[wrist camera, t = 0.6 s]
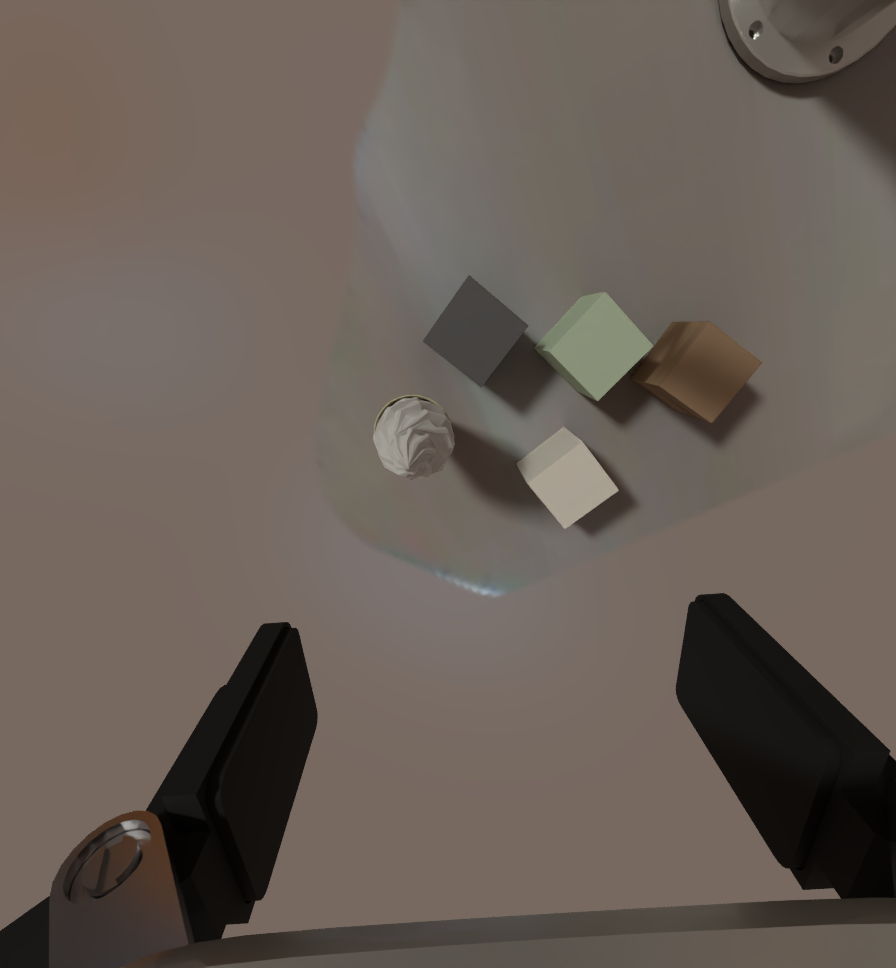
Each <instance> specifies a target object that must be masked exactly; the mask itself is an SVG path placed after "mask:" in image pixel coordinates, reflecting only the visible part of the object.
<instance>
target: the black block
mask: <svg viewBox="0 0 896 968" xmlns="http://www.w3.org/2000/svg"><path fill="white" fill-rule="evenodd" d="M527 327H528V325H527V324H526V323H525V322H524V321H522V320H521V319H520V318H519V317H518V316H517V315H515V314H514V313H513V312H512V311H511V310H509V309H508V308H507V307H506V306H505V305H504V304H502V303H501V302H500V301H499V300H498V299H497V298H495V297H494V296H493V295H492V294H491V293H489V292H488V291H487V290H486V289H485V288H484V287H482V286H481V285H480V284H479V283H478V282H477V281H475V280H474V279H473V278H472V277H471V276H468V277H467V279H466V280H465V282H464V283H463V284H462V286H461V287H460V289H459V290H458V292H457V293H456V294H455V296H454V297H453V299H452V300H451V302H450V303H449V304H448V306H447V307H446V309H445V310H444V312H443V313H442V314H441V316H440V317H439V319H438V320H437V322H436V323H435V324H434V326H433V327H432V329H431V330H430V332H429V333H428V334H427V336H426V337H425V339H424V340H423V342H424V343H426V344H427V345H428V346H429V347H431V348H432V349H433V350H435V351H436V352H437V353H438V354H440V355H441V356H442V357H444V358H445V359H446V360H447V361H449V362H450V363H451V364H452V365H454V366H455V367H456V368H458V369H459V370H460V371H461V372H463V373H464V374H465V375H467V376H468V377H469V378H470V379H472V380H473V381H474V382H476V383H477V384H478V385H479V386H481V387H482V386H483V384H484V383H485V382H486V380H487V379H488V378H489V377H490V375H491V374H492V373H493V371H494V370H495V369H496V367H497V366H498V365H499V364H500V362H501V361H502V360H503V358H504V357H505V356H506V354H507V353H508V352H509V350H510V349H511V348H512V347H513V345H514V344H515V343H516V341H517V340H518V339H519V337H520V336H521V335H522V334H523V332H524V331H525V330H526V328H527Z"/></svg>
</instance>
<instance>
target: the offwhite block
mask: <svg viewBox="0 0 896 968" xmlns="http://www.w3.org/2000/svg"><path fill="white" fill-rule="evenodd" d="M516 465H517V467H518V468H519V470H520V472H521V474H522V475H523V477H524V479H525V481H526V482H527V484H528V485H529V486H530V487H531V489H532V490H533V491H534V492H535V494H536V495H537V496H538V497H539V498H540V500H541V501H542V502H543V503H544V504H545V506H546V507H547V508H548V509H549V510H550V512H551V513H552V514H553V515H554V516H555V518H556V519H557V520H558V521H559V523H560V524H561V525H562V526H563V527H564V529H566V528H567V527H569V526H570V525H571V524H573V523H574V522H576V521H577V520H578V519H580V518H581V517H583V516H584V515H585V514H587V513H588V512H590V511H591V510H592V509H594V508H595V507H597V506H598V505H599V504H601V503H602V502H604V501H605V500H606V499H608V498H609V497H610V496H612V495H613V494H615V493H616V492H617V491H619V490H618V488H617V487H616V486H615V484H614V483H613V482H612V480H611V479H610V478H609V476H608V475H607V474H606V472H605V471H604V470H603V468H602V467H601V466H600V464H599V463H598V462H597V460H596V459H595V458H594V456H593V455H592V454H591V452H590V451H589V450H588V448H587V447H586V446H585V444H584V443H583V442H582V441H581V440H580V439H579V438H577V437H576V436H575V435H574V434H572V433H571V432H570V431H569V430H567V429H566V428H565V427H563V428H561V429H560V430H559V431H558V432H556V433H555V434H554V435H552V436H551V437H550V438H548V439H547V440H546V441H545V442H543V443H542V444H541V445H539V446H538V447H537V448H536V449H534V450H533V451H532V452H530V453H529V454H528V455H527V456H525V457H524V458H523V459H521V460H520V461H519V462H518V463H516Z"/></svg>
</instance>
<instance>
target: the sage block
mask: <svg viewBox="0 0 896 968" xmlns="http://www.w3.org/2000/svg"><path fill="white" fill-rule="evenodd" d="M652 347H653V345H652V344H651V343H650V341H649V340H648V339H647V338H646V337H645V336H644V335H643V334H642V332H641V331H640V330H639V329H638V328H637V327H636V326H635V325H634V324H633V322H632V321H631V320H630V319H629V318H628V317H627V316H626V315H625V313H624V312H623V311H622V310H621V309H620V308H619V307H618V306H617V304H616V303H615V302H614V301H613V300H612V299H611V298H610V297H609V295H608V294H607V293H606V292H601V293H596V294H591V295H586V296H581V297H580V299H579V300H578V301H577V302H576V303H575V304H574V305H573V306H572V307H571V308H570V309H569V310H568V312H567V313H566V314H565V315H564V316H563V317H562V318H561V319H560V320H559V321H558V322H557V323H556V325H555V326H554V327H553V328H552V329H551V330H550V331H549V332H548V333H547V334H546V335H545V336H544V338H543V339H542V340H541V341H540V342H539V343H538V344H537V345H536V346H535V347H534V349H535V350H536V351H537V352H538V353H539V354H540V355H541V356H542V357H543V358H544V359H545V360H546V361H547V362H548V363H549V364H550V365H551V366H552V367H553V368H554V369H555V370H556V371H557V372H558V373H559V374H560V375H561V376H562V377H563V378H564V379H565V380H566V381H567V382H568V383H569V384H570V385H571V386H572V387H573V388H574V389H575V390H576V391H577V392H579V393H581V394H583V395H586V396H588V397H590V398H592V399H594V400H596V401H599V400H600V399H601V398H602V397H603V396H604V395H605V394H606V393H607V392H608V391H609V390H610V389H611V388H612V387H613V386H614V385H615V384H616V383H617V382H618V381H619V380H620V379H621V378H622V377H623V376H624V375H625V374H626V373H627V372H628V371H629V370H630V369H631V368H632V367H633V366H634V365H635V364H636V363H637V362H638V361H639V360H640V359H641V358H642V357H643V356H644V355H645V354H646V353H647V352H648V351H649V350H650V349H651V348H652Z"/></svg>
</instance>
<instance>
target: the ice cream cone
mask: <svg viewBox="0 0 896 968" xmlns="http://www.w3.org/2000/svg"><path fill="white" fill-rule="evenodd" d="M373 440H374V442H375V445H376V448H377V450H378V453H379V456H380V459H381V461H382V463H383V465H384V467H385V468H387V469H389V470H391V471H392V472H394V473H396V474H398V475H400V476H403V477H407V478H409V479H411V480H412V479H418V478H423V477H428V476H429V475H431V474H432V473H435V472H438V471H441V470H442V468H443V466H444V464H445V462H446V460H447V458H448V457H449V456H450V454H451V453H452V452H453V448H454V445H455V442H454V433H453V429H452V425H451V422H450V419H449V417H448V415H447V413H446V412H445V411H444V409H443V408H442V407H441V406H440V405H439V404H438V403H436V402H435V401H433V400H431V399H429V398H427V397H424V396H420V395H405V396H401V397H398V398H396V399H394V400H392V401H390V402H389V403H388V404H387V405H385V406H384V408H383V409H382V410H381V411H380V413H379V415H378V416H377V419H376V422H375V426H374V437H373Z"/></svg>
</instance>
